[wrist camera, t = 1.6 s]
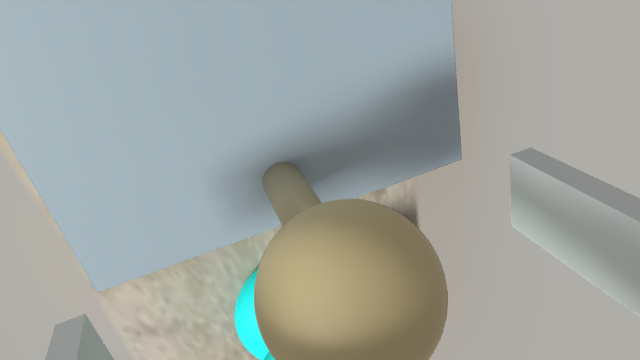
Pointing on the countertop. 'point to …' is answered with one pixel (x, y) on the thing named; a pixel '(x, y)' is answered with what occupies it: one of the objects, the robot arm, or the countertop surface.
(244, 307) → the donuts
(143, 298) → the countertop surface
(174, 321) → the countertop surface
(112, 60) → the flap
